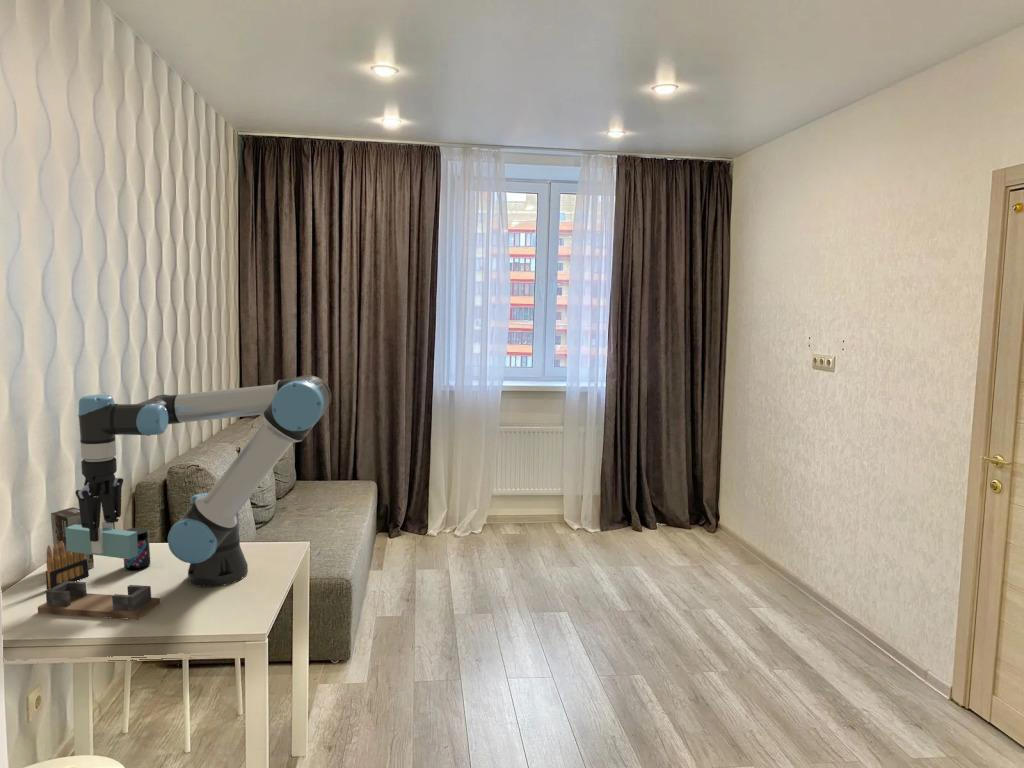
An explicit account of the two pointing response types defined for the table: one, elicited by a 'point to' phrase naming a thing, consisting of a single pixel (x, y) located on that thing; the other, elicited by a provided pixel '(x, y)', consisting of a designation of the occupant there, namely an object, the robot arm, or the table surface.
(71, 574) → the ammunition clip
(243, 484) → the robot arm
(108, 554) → the slat
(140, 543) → the supplement container
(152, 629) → the table surface
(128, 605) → the frame
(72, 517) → the coffee box
